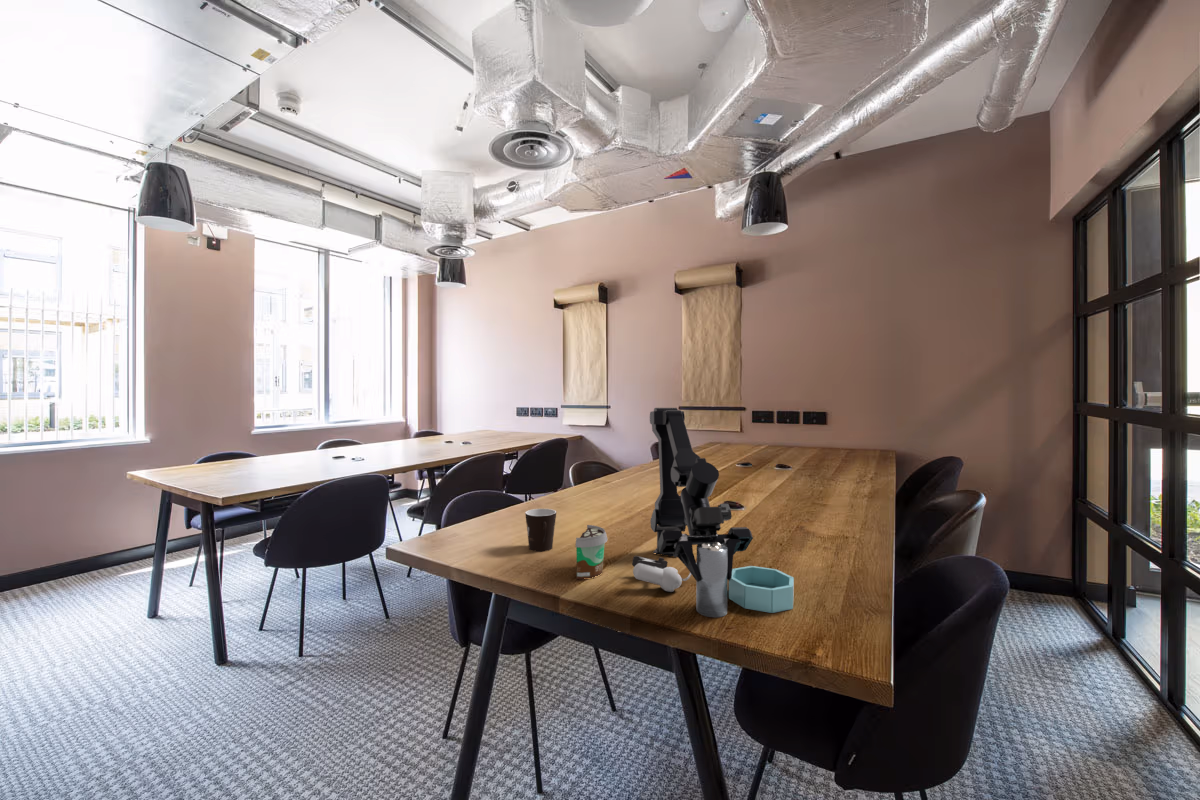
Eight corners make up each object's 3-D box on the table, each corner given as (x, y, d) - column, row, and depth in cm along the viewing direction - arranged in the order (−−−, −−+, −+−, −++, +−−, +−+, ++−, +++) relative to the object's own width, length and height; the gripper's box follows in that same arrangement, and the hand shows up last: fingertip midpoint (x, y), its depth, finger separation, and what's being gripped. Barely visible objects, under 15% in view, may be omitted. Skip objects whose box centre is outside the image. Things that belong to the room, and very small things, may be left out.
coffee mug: (530, 542, 140) (530, 508, 140) (559, 544, 139) (559, 509, 139) (517, 555, 129) (517, 518, 129) (549, 557, 128) (549, 519, 127)
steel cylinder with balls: (699, 602, 100) (700, 537, 100) (729, 607, 98) (729, 541, 98) (693, 614, 95) (693, 545, 95) (724, 619, 93) (725, 549, 92)
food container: (601, 584, 110) (602, 540, 110) (575, 581, 111) (575, 538, 111) (611, 565, 122) (611, 525, 122) (587, 563, 123) (587, 524, 123)
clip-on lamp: (704, 589, 115) (630, 570, 116) (710, 563, 115) (636, 543, 117) (712, 606, 103) (629, 584, 104) (719, 576, 103) (636, 555, 105)
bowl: (734, 583, 111) (734, 563, 111) (794, 592, 106) (794, 571, 106) (725, 605, 99) (725, 583, 99) (792, 616, 94) (792, 593, 94)
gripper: (661, 490, 99) (675, 562, 88) (749, 488, 101) (773, 559, 90) (653, 518, 107) (664, 588, 96) (734, 517, 109) (755, 585, 98)
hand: (714, 580), depth 95 cm, fingers closed on steel cylinder with balls, 6 cm apart
